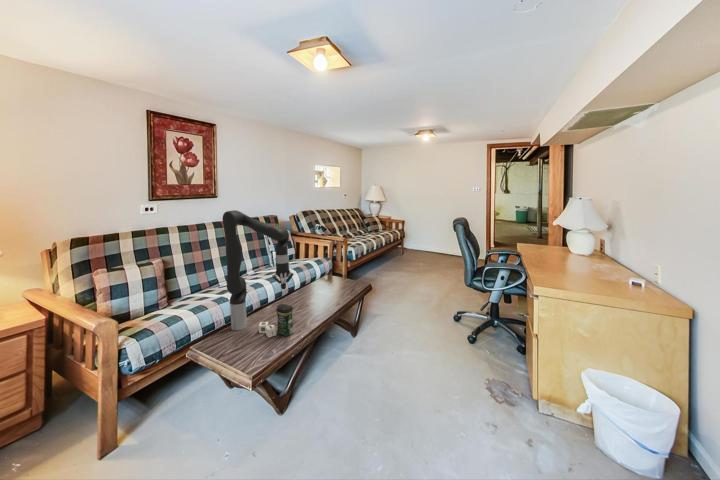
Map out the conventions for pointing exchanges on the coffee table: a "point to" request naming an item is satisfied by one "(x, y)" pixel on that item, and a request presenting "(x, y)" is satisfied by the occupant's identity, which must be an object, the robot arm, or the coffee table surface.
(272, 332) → the marked block
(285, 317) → the coffee jar
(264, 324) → the marked block
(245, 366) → the coffee table surface
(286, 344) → the coffee table surface
